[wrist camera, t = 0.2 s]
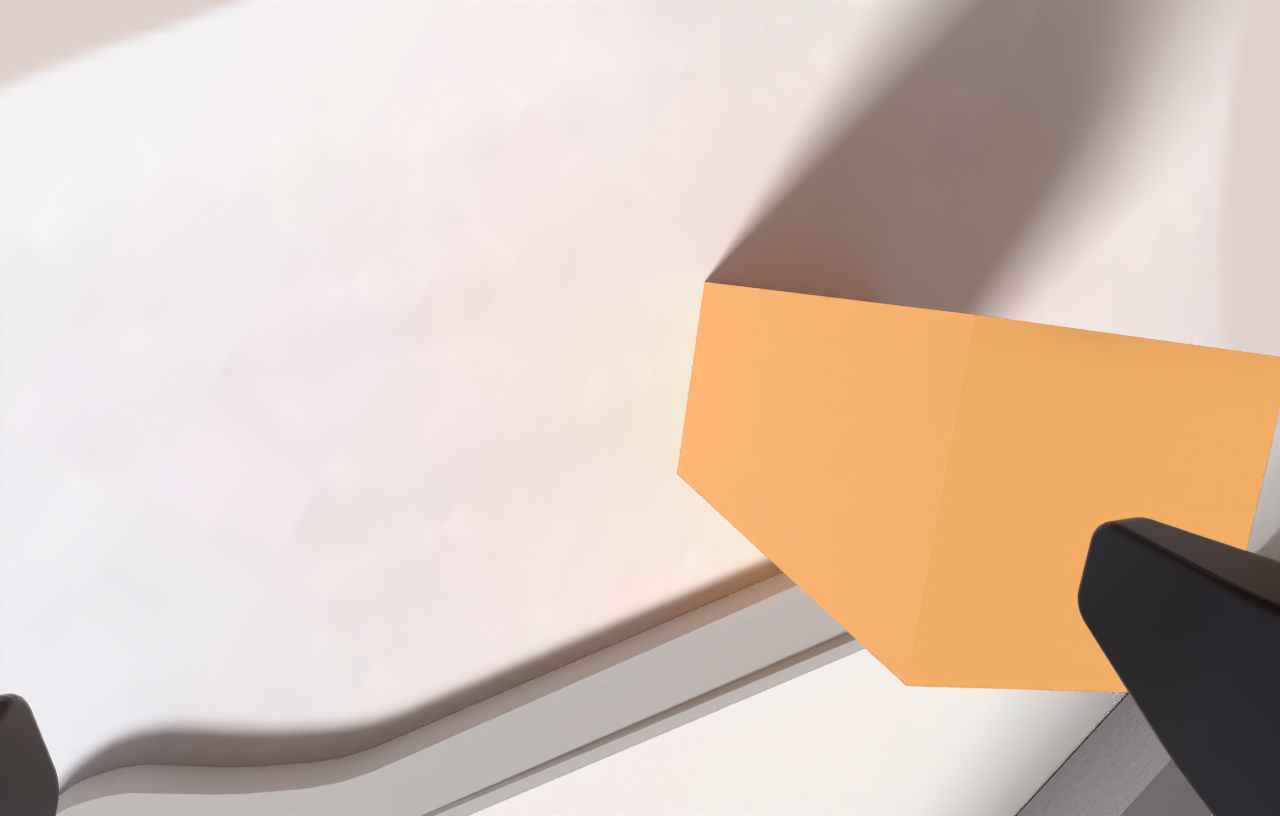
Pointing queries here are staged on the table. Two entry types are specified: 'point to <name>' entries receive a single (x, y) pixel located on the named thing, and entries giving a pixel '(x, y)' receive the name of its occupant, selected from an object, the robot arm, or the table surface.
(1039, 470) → the tall tan rectangular block
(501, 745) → the adjustable wrench
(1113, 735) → the gray square socket plate
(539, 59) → the table surface
